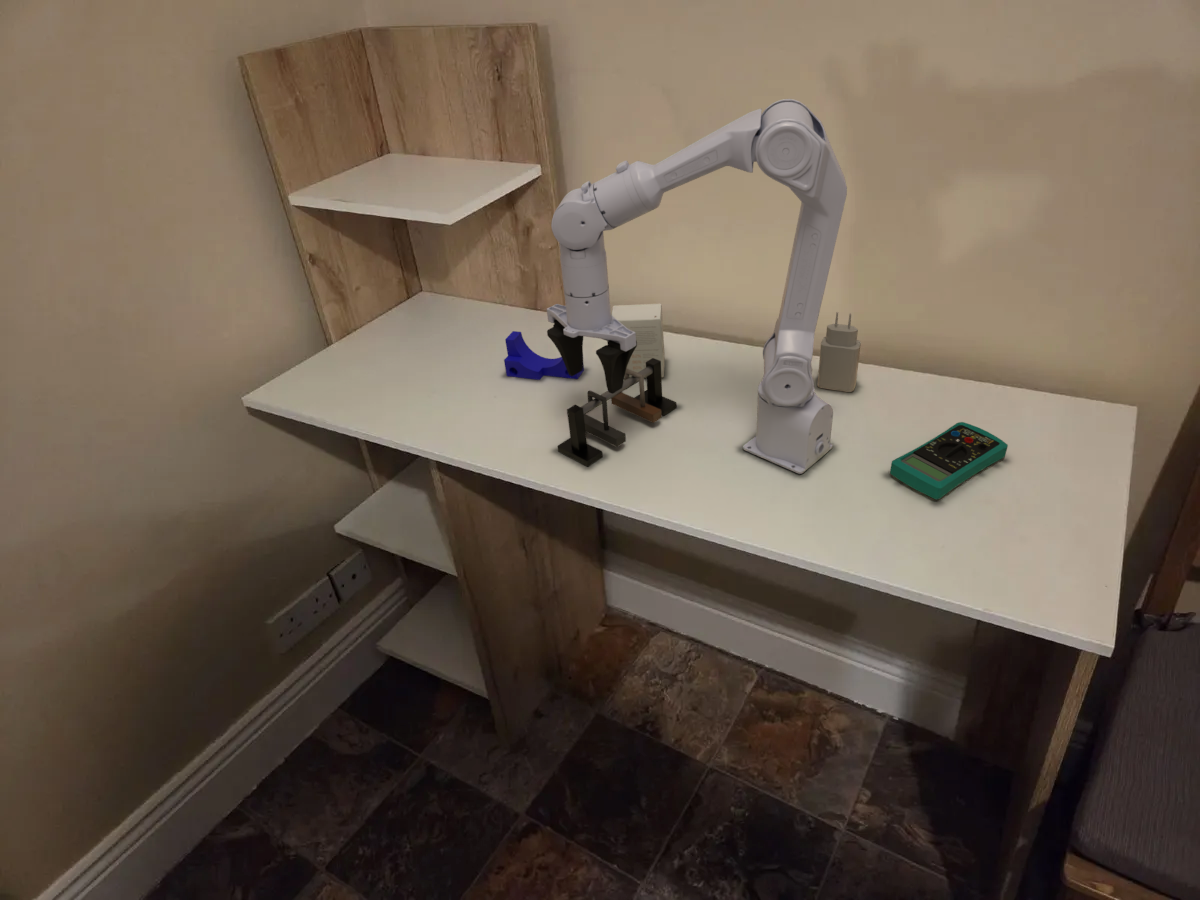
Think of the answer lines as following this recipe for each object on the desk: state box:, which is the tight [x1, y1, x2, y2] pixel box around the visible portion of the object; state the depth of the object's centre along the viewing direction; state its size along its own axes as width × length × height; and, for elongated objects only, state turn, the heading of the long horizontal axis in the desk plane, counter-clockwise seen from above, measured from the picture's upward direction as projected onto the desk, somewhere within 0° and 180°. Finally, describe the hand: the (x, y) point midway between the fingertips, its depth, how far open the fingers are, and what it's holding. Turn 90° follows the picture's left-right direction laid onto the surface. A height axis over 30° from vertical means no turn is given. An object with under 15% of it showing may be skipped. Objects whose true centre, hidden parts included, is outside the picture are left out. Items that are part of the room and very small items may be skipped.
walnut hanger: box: [610, 368, 662, 424], centre depth 117 cm, size 8×2×7 cm, turn 45°
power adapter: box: [816, 311, 862, 393], centre depth 119 cm, size 3×5×12 cm, turn 65°
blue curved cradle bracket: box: [503, 330, 585, 381], centre depth 131 cm, size 12×4×6 cm, turn 70°
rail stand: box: [557, 358, 678, 468], centre depth 115 cm, size 6×19×8 cm, turn 136°
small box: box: [611, 303, 666, 380], centre depth 128 cm, size 8×6×10 cm
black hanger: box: [584, 389, 627, 448], centre depth 113 cm, size 8×2×7 cm, turn 45°
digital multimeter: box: [889, 421, 1009, 500], centre depth 103 cm, size 7×15×3 cm, turn 125°
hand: (595, 381), depth 110 cm, fingers open, 7 cm apart
